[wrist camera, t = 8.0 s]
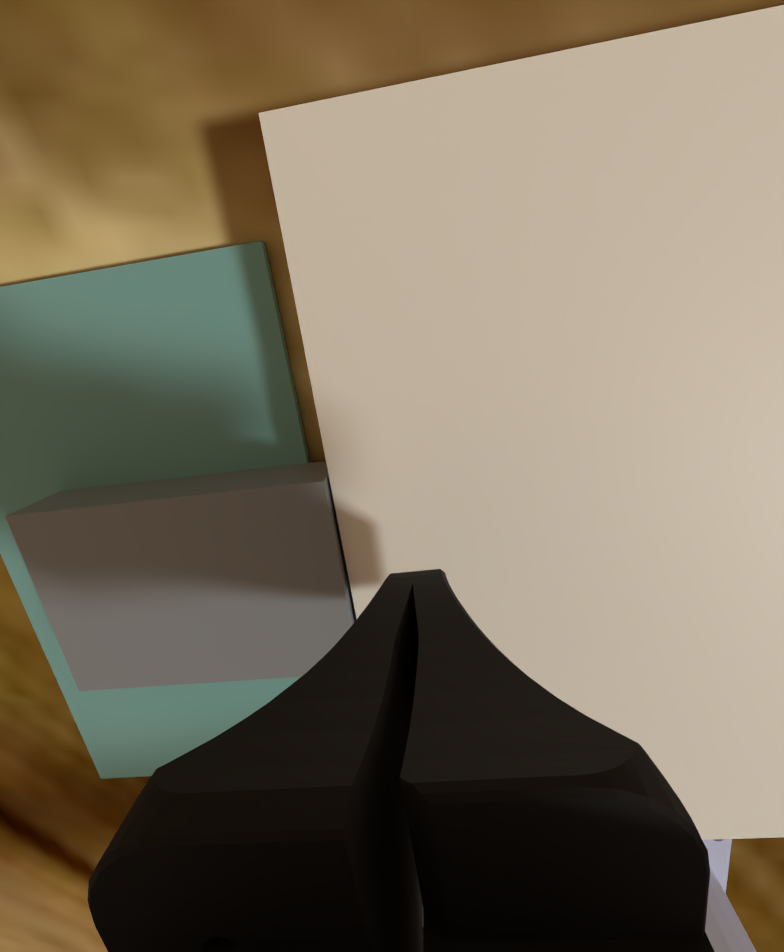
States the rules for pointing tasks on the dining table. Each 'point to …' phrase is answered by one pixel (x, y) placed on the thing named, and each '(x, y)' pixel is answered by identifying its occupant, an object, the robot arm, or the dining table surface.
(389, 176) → the white flat board
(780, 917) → the dining table surface
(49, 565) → the grey bevelled tile
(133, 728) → the mat
